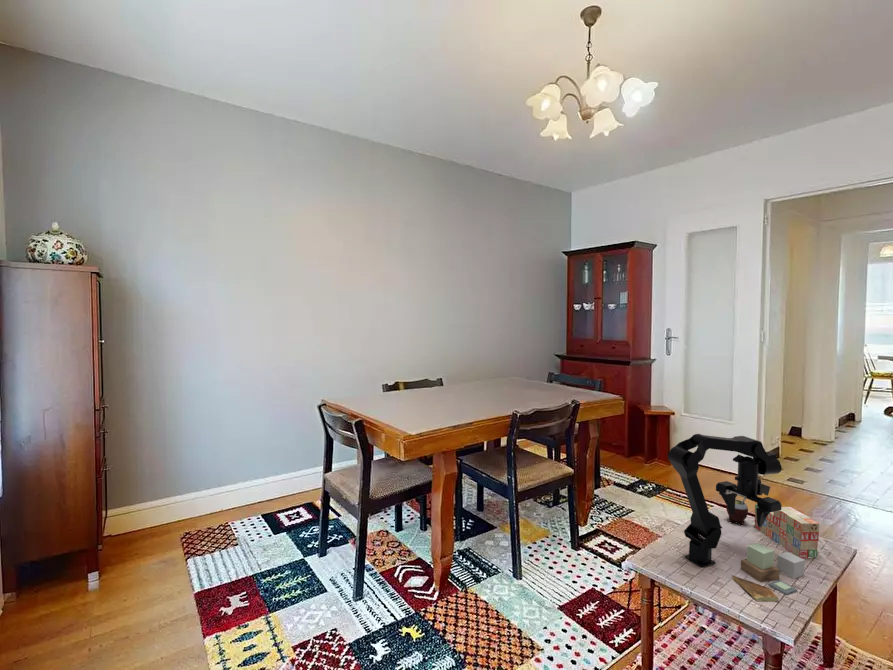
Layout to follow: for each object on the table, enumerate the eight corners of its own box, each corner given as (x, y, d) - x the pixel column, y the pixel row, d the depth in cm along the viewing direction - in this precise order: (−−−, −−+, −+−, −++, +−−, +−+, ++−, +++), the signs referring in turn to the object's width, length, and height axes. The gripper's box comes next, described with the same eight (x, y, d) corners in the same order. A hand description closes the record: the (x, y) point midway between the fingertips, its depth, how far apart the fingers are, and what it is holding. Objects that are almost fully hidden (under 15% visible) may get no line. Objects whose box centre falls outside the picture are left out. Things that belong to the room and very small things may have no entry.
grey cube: (793, 578, 137) (794, 563, 137) (776, 570, 142) (777, 554, 141) (804, 575, 139) (804, 559, 138) (786, 566, 143) (787, 551, 143)
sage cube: (773, 566, 138) (774, 550, 138) (762, 569, 136) (763, 553, 136) (757, 557, 143) (757, 542, 142) (746, 561, 141) (747, 545, 140)
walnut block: (760, 583, 135) (760, 572, 135) (740, 570, 142) (740, 559, 142) (778, 580, 137) (779, 569, 136) (758, 567, 143) (758, 556, 143)
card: (786, 595, 129) (786, 592, 129) (768, 585, 133) (768, 582, 133) (797, 591, 131) (797, 588, 130) (779, 581, 135) (779, 578, 135)
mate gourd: (721, 518, 177) (723, 481, 176) (740, 517, 177) (741, 480, 176) (735, 527, 169) (737, 488, 168) (754, 526, 170) (756, 488, 169)
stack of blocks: (753, 527, 170) (755, 495, 169) (769, 527, 170) (771, 495, 169) (799, 558, 148) (801, 522, 148) (817, 558, 148) (819, 522, 148)
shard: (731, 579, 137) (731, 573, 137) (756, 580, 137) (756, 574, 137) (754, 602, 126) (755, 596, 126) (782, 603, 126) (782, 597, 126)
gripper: (793, 482, 142) (791, 529, 143) (737, 463, 160) (735, 505, 161) (770, 486, 138) (768, 535, 139) (715, 467, 156) (713, 510, 157)
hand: (745, 520), depth 149 cm, fingers open, 9 cm apart
